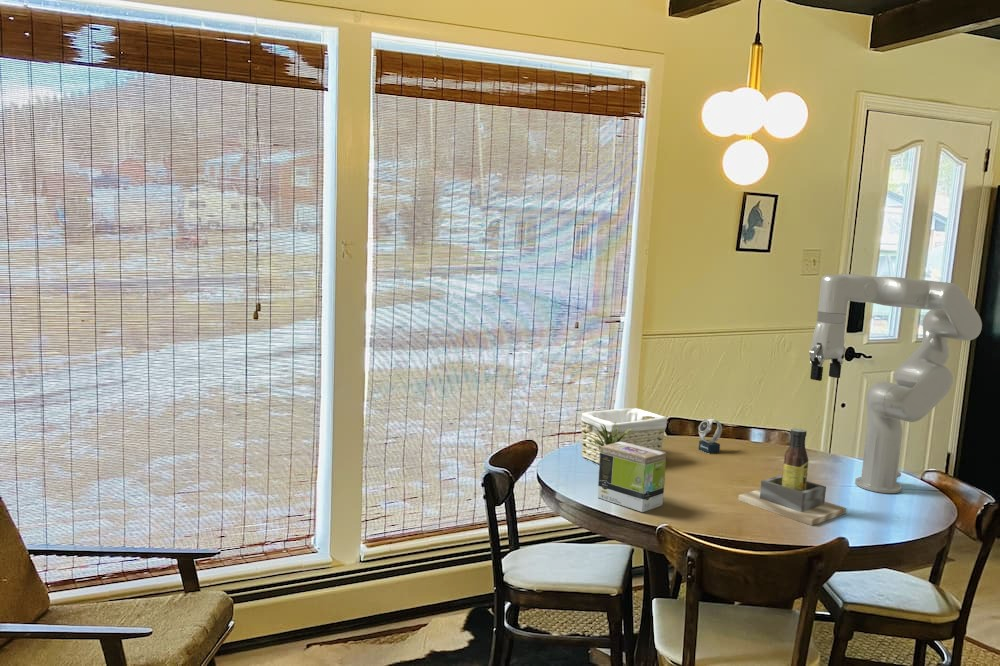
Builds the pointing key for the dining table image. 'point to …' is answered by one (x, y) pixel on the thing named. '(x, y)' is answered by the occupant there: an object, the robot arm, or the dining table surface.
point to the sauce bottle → (796, 462)
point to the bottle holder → (793, 501)
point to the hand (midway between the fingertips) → (825, 378)
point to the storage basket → (622, 429)
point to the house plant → (611, 439)
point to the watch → (711, 445)
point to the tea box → (632, 476)
